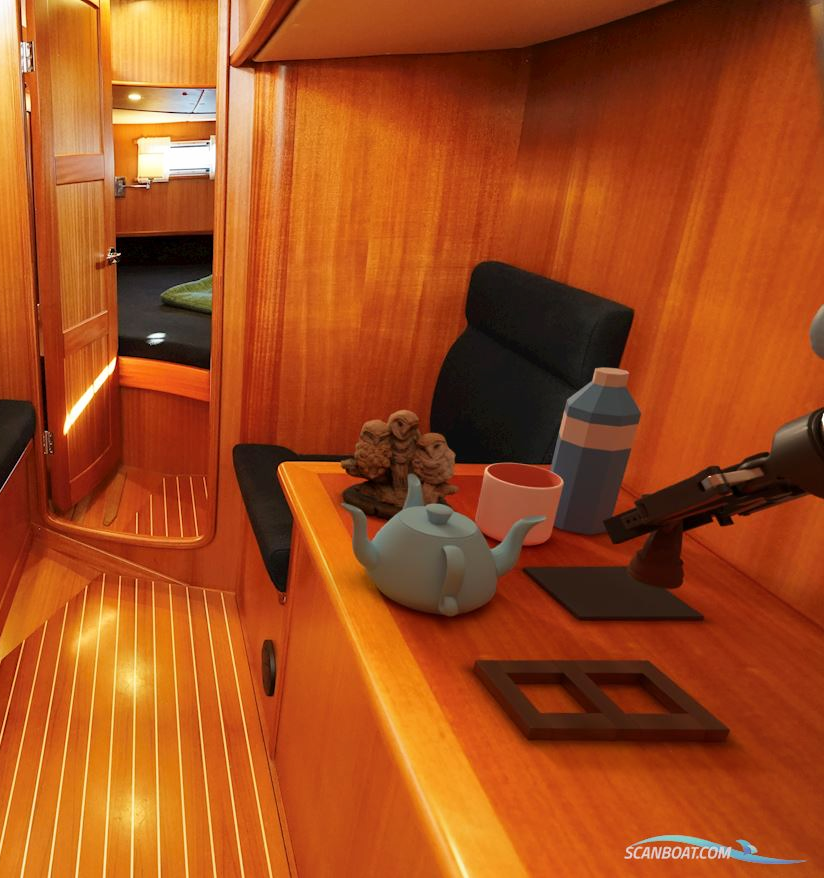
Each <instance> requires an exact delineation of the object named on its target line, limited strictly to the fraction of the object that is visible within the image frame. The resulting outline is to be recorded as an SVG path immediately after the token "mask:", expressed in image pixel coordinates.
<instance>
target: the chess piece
mask: <svg viewBox="0 0 824 878" xmlns="http://www.w3.org/2000/svg"><path fill="white" fill-rule="evenodd" d="M669 525H670V526H667V527H665V528H662V529H659V530H656V531H653V532H651V533H648V536H647V538H646V539H645V541H644V543H643V546H642V548H640V549H638V550H636V553H635V555H634V556H633V557H632V558H631V559H630V561H629V564H628V565H627V566H626V567H627V573H628V575H629V576H630V577H631V578H633V579H634V580H636V581H638V582H640V583H642V584H645V585H648V586H651V587H655V588H660V589H666V590H676V589H679V588H680V587H681V586H683V584H684V577H685V571H684V568H683V566H684V564H685V563H684V560H683V559H682V558H681V555H682V549H683V538H684V537H683V535H684V532H683V518H682V519H679V520H676V521H673V522H669Z"/></svg>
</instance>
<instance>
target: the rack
mask: <svg viewBox="0 0 824 878" xmlns="http://www.w3.org/2000/svg"><path fill="white" fill-rule="evenodd" d="M473 663H474V664H473V669H472V672H473V673H474V674H475V675H476V677H477V678H478V679H479V680H480V682H481V683H482V684H483V685H484V687H485V689H487V690H488V692H489V693H490V694H491V695H492V697H493V698H494V699H495V701H497V703H498V704H499V705H500V706H501V708H502V709H503V710H504V711H505V713H506V714H507V715H508V717H509V718H510V719H511V720H512V721H513V723H514V724H515V725H516V727H518V729H519V730H520V732H521V733H522V734H523V735H524V737H525V738H526V739H527V740H528V741H529V740H531V741H532V740H535V741H536V740H537V741H629V742H630V741H631V742H632V741H637V742H640V741H641V742H642V741H643V742H647V741H648V742H727V740H728V737H729V734H730V733H731V729H730V727H728V726H727V725H725V724H724V722H722V721H721V720H719V719H718V717H716V716H715V715H714V714H712V713H711V712H710V710H708V709H707V708H706V707H704V706H703V705H702V704H701V703H700V702H698V701H697V700H696V699H695V698H694V697H692V696H691V695H690V694H689V693H687V691H686V690H684V689H683V688H682V687H681V686H679V685H678V684H677V683H676V682H675V681H674V680H673V679H672V678H670V677H669V676H668V675H667V674H666V673H664V672H663V671H662V670H660V669H659V668H658V667H657V666H656V665H655V664H654V663H652V662H651V661H650V660H649V659H648V660H646V659H644V660H641V659H639V660H637V659H636V660H635V659H633V660H632V659H631V660H629V659H627V660H626V659H625V660H624V659H620V660H619V659H618V660H617V659H616V660H615V659H611V660H610V659H598V660H597V659H572V660H570V659H560V660H559V659H552V660H551V659H549V660H548V659H547V660H546V659H499V660H498V659H475V660H474V662H473ZM517 684H561V686H562V687H563V688H564V689H565V690H566V691H567V692H568V693H569V694H570V695H571V696H572V698H574V699H575V700H576V701H577V702H578V703H579V705H580V706H581V707H583V709H584V710H585V711H586V712H540V711H539V710H538V709H537V707H536V706H535V705H534V704H533V703H532V701H530V699H529V698H528V697H527V696H526V694H524V692H523V691H522V690H521V689H520V688H519V686H518V685H517ZM598 685H640V686H641V687H642V688H644V689H645V690H646V691H647V692H648V694H650V695H651V697H653V698H654V699H656V700H657V701H658V702H659V703H660V704H661V705H662V706H663V707H664V708H665V709H666V710H667V711H669V712H670V713H637V712H636V713H632V712H629V713H628V712H627V713H626V712H624V711H623V710H622V709H621V708H620V707H619V705H617V704H616V702H615V701H613V700H612V699H611V698H610V697H609V696H608V695H607V694H606V693H605V692H604V691H603V690H602V689H601V688H600V687H599V686H598Z"/></svg>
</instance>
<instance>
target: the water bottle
mask: <svg viewBox="0 0 824 878" xmlns="http://www.w3.org/2000/svg"><path fill="white" fill-rule="evenodd" d="M629 376H630V372H629V371H628V370H625V369H621V368H616V367H615V368H614V367H596V368H594V372H593V377H592V380H591V381H590V382H588V383H587V384H586V385H584V387H582V388H580V389H579V390H578V391H577V392H575V393H573V394H572V395H571V396H570V397H568V398H567V399H566V403H565V407H564V411H563V415H562V418H561V423H560V427H559V431H558V436H557V440H556V445H555V448H554V453H553V457H552V461H551V465H550V470H549V471H551V472H553V473H555V474H557V475H558V476H560V477H561V478H562V480H563V482H564V484H563V488H562V492H561V496H560V500H559V504H558V508H557V512H556V516H555V520H554V525H553V527H555V528H557V529H559V530H561V531H565V532H571V533H578V534H583V535H588V536H592V535H596V534H603V533H608V532H607V530H606V528H605V525H604V523H603V521H604V520H606V519H608V518H611V517H613V516H614V512H615V509H616V505H617V502H618V498H619V495H620V491H621V488H622V485H623V481H624V478H625V473H626V470H627V466H628V462H629V459H630V455H631V452H632V449H633V444H634V443H635V442H634V441H635V437H636V434H637V430H638V427H639V423H640V421H641V417H642V416H641V415H642V412H641V410H640V409H639V407H638V405H637V403H636V401H635V400H634V398H633V396H632V395H631V392H630V391H629V389H628V387H627V384H628V380H629Z"/></svg>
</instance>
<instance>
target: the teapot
mask: <svg viewBox="0 0 824 878" xmlns="http://www.w3.org/2000/svg"><path fill="white" fill-rule="evenodd" d="M408 486H409V487H408V495H407V499H406V502H405V504H404V507H403V510H402V511H400V512H399V513H397V514H396V515H395V516H394V517H393V518H391V519H390V520H389V519H388V521H387V522H386V523H385V524H384V525H383V526H382V527H381V528H380V529H379V530H378V531H377V533H376V534H375V535H374V536H373V538H372V540H370V539H369V537H368V519H367V516H366V515H365V514H366V513H363V511H361V510H360V509H359V508H357V507H354V506H352V505H349V504H346V503H345V502H341V503H340V505H341V506H342V508H344V509H345V510H346V511H347V512H348V513H349V514H350V516H351V519H352V525H353V526H352V536H351V547H352V551H353V555H354V557H355V559H356V560H357V561H358V563H359V564H360V565H361V566H363V567H364V568H365V571H366V574H367V576H368V577H369V579H370V580H371V582H372V583H373V585H374V586H375V587H376V589H378V590H379V591H380V593H382V594H383V595H384V596H385V597H387V598H388V599H390V600H391V601H393V602H395V603H397V604H399V605H401V606H403V607H405V608H408V609H412V610H415V611H418V612H423V613H428V614H432V615H440V616H441V615H442V616H443V615H444V616H446V617H454V616H457V615H462V614H466V613H469V612H472V611H474V610H477V609H479V608H481V607H483V606H484V605H486V604H488V602H490V601H491V600H492V598H493V597H495V594H496V592H497V586H498V579H501V578H503V577H504V576H506V575H507V574H509V573H510V572H511V571H512V570H513V569H514V568H515V567H516V565H517V564H518V561H519V559H520V556H521V553H522V549H523V546H524V545H523V542H524V539H525V537H526V535H527V534H528V532H529V531H530V530H531V529H532V528H533V527H534V526H536V525H537V524H539V523H541V522H543V521H544V520H546V519H547V518H546V517H544V516H531V517H526V518H523V519H521V520H519V521H518V522H516V523H515V524H514V525H513V526H512V528H511V529H510V531H509V532H508V534H507V536H506V537H505V539H504V540H503V542H500V543H499V544H498V545H496V546H495V547H493V548H490V546H489V543H488V542H487V540H486V538H485V536H484V533H483V532H482V531H480V529H479V528H478V526H477V525H476V522H474V521H473V520H472V519H471V518H469V517H468V516H465V515H464V514H463V513H459V512H457V511H455V510H454V509H453V508H450V507H448V506H445V505H442V504H428V505H426V506H424V503H423V495H422V488H421V483H420V480H419V479H418V477H417V476H416V475H414V474H409V475H408Z"/></svg>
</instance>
